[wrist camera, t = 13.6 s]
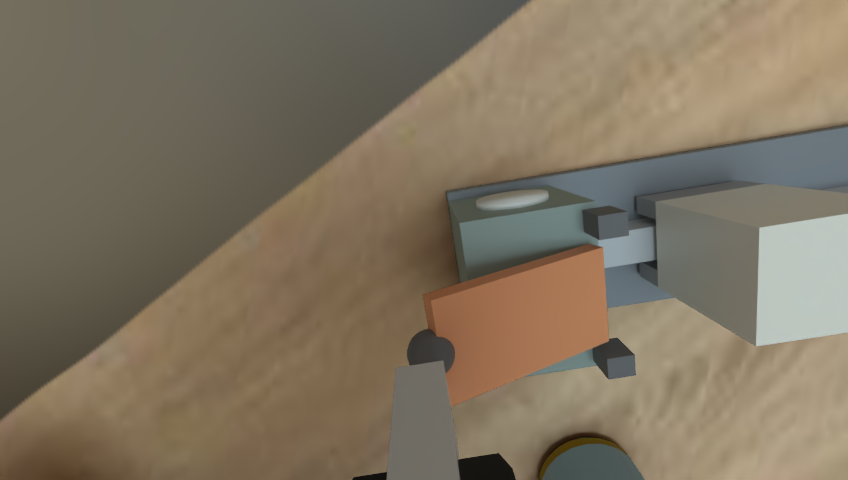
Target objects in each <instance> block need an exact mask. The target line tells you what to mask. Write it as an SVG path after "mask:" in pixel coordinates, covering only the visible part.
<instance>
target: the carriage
mask: <svg viewBox="0 0 848 480" xmlns="http://www.w3.org/2000/svg"><path fill="white" fill-rule="evenodd" d="M636 199H637V214H641V215H644V216H647V217H650V218H653V219H656V237H657V260H653V261H647V262H640V263H639V270H640V277H642V278H644V279H645V280H647V281H649V282H650V283H652V284H654V285H655V286H657V287H659V288H660V289H662V290H664V291H665V292H667V293H669V294H670V295H672V296H674V297H675V298H677V299H679V300H680V301H682V302H683V303H685V304H687V305H688V306H690V307H692V308H693V309H695V310H697V311H698V312H700V313H702V314H703V315H705V316H707V317H708V318H710V319H712V320H713V321H715V322H717V323H718V324H720V325H722V326H723V327H725V328H726V329H728V330H730V331H731V332H733V333H735V334H736V335H738V336H740V337H741V338H743V339H745V340H746V341H748V342H750V343H751V344H753V345H755V346H762V345H768V344H775V343H781V342H788V341H794V340H801V339H808V338H814V337H821V336H827V335H834V334H840V333H847V332H848V193H840V192H832V191H823V190H815V189H807V188H798V187H790V186H781V185H773V184H764V183H756V182H747V181H739V180H738V181H731V182H725V183H719V184H713V185H707V186H701V187H695V188H688V189H682V190H676V191H670V192H664V193H658V194H652V195H645V196H639V197H636Z"/></svg>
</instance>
